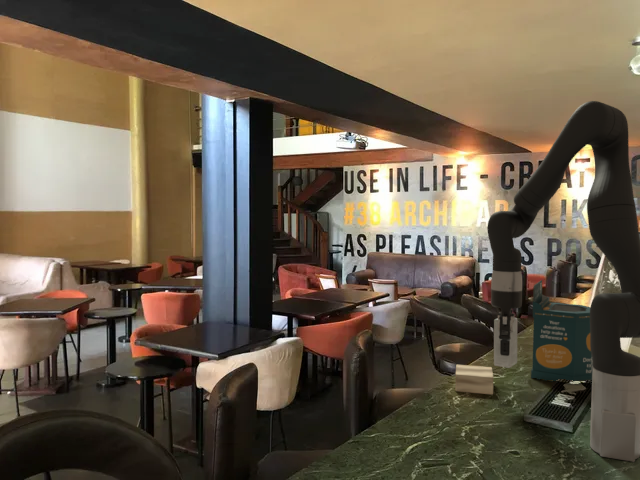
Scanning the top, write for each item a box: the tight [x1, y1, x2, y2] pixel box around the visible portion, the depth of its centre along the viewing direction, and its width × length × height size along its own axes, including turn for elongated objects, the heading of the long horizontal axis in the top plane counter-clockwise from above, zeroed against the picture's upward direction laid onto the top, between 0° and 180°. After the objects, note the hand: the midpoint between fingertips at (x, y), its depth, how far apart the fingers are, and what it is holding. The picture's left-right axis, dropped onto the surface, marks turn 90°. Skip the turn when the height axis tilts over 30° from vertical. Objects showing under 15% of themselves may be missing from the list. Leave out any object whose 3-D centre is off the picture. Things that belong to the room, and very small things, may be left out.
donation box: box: [530, 280, 593, 382], centre depth 161 cm, size 16×16×28 cm
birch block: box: [454, 364, 494, 395], centre depth 151 cm, size 10×10×5 cm
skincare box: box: [493, 317, 518, 369], centre depth 137 cm, size 6×4×12 cm
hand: (505, 351), depth 137 cm, fingers closed on skincare box, 7 cm apart
